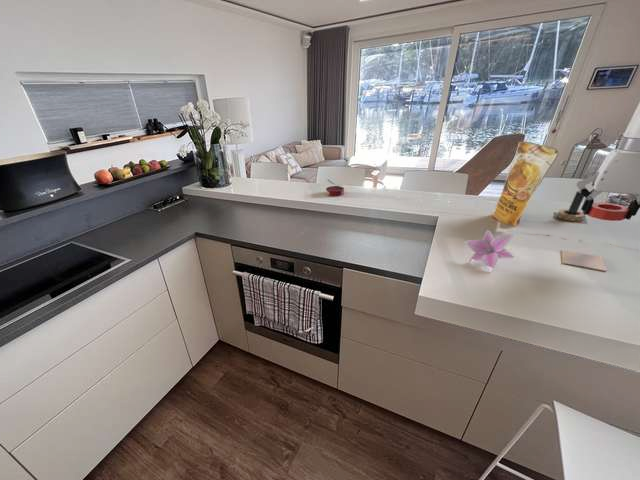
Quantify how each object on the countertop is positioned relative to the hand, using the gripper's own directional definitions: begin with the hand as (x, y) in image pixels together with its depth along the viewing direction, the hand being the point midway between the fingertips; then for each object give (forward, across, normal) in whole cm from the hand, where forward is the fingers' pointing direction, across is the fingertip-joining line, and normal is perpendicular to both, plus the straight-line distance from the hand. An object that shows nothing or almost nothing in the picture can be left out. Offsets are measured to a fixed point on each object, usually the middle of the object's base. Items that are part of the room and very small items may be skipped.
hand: (605, 214), depth 77 cm
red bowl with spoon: (+15, +98, -32) cm, 104 cm away
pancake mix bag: (+15, +19, -25) cm, 35 cm away
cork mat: (+14, 0, 0) cm, 14 cm away
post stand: (+14, +1, -34) cm, 37 cm away
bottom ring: (+13, +1, -34) cm, 37 cm away
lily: (+15, +22, +14) cm, 30 cm away
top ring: (0, 0, 0) cm, 0 cm away
